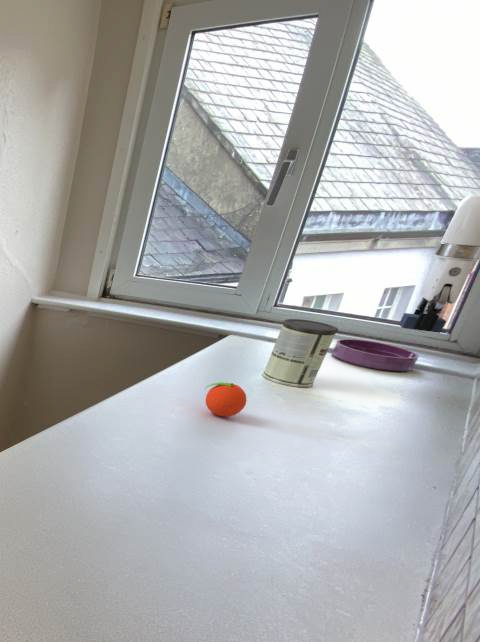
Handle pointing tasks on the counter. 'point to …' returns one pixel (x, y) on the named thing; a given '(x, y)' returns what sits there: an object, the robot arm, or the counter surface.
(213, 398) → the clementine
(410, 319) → the eraser
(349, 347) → the bowl
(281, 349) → the coffee can
